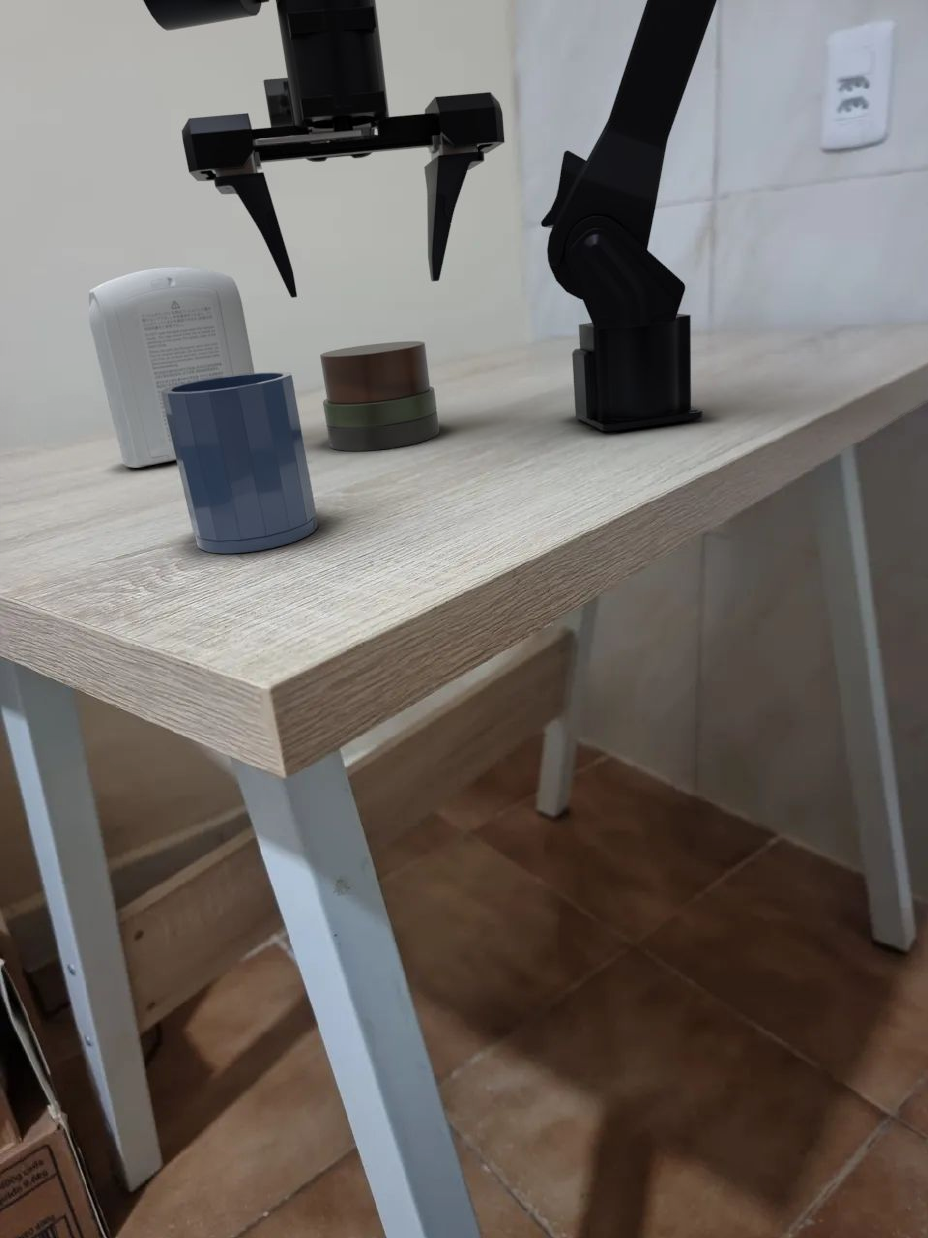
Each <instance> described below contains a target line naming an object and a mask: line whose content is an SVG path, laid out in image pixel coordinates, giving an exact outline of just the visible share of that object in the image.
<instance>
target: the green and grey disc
mask: <svg viewBox="0 0 928 1238" xmlns="http://www.w3.org/2000/svg"><path fill="white" fill-rule="evenodd" d="M436 400H437V399H436V392H435V388H434V386H431V385H430V389H429V390H428V391H426V392H424V393H421V394H418V395H414V396H410V397H405V398H400V399H394V400H387V401H380V402H371V403H359V404H335V403H330V402H328V401H327V398H325V399H324V400H323V401H322V406H323V414H324V419H325V424H326V431H327V437H328V444H329V447H330V448H331V449H334V450H338V451H346V452H365V451H368V452H369V451H378V450H379V451H381V450H388V449H395V448H400V447H406V446H412V445H414V444H419V443H422V442H425V441H428V440H430V439H433V438H435V437H437V436H439V433H440V427H439V425H440V424H439V419H438V418H439V417H438V411H437V410H438V409H437V401H436Z"/></svg>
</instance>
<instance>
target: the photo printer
mask: <svg viewBox="0 0 928 1238" xmlns="http://www.w3.org/2000/svg"><path fill="white" fill-rule="evenodd" d="M88 306H89V309H88V310H89V311H88V321H89V328H90V331H91V334H92V339H93V343H94V347H95V352H96V355H97V360H98V364H99V369H100V373H101V376H102V381H103V385H104V388H105V389H104V390H105V393H106V397H107V401H108V407H109V409H110V412H111V413H110V414H111V417H112V421H113V425H114V426H113V427H114V430H115V434H116V438H117V442H118V447H119V451H120V454H121V458H122V462H123V464H124V466H126V467H127V468H134V469H135V468H136V469H138V468H144V467H147V466H152V465H153V466H154V465H158V464H163V463H168V462H173V461H177V460H176V455H175V451H174V447H173V442H172V438H171V434H170V430H169V425H168V421H167V417H166V412H165V408H164V404H163V400H162V395H161V392H162V391H163V390H164V389H166V388H169V387H172V386H175V385H179V384H184V383H188V382H193V381H198V380H204V379H210V378H216V377H223V376H231V375H239V374H248V373H255V368H254V362H253V358H252V351H251V345H250V340H249V335H248V330H247V323H246V319H245V318H246V317H245V313H244V308H243V301H242V298H241V295H240V292H239V289H238V286H237V284H236V282H235V280H234V278H233V277H232V276H230V275H227V274H224V273H220V272H217V271H212V270H208V269H202V268H196V267H183V266H182V267H181V266H180V267H177V266H174V267H172V266H171V267H158V268H157V267H155V268H150V269H143V270H139V271H133V272H131V273H127V274H124V275H121V276H118V277H115V278H113V279H109V280H108V281H105V282H104V283H101V284H99V285H97V286H95V287H94V288H91V289H90V290H88Z"/></svg>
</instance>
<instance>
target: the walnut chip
mask: <svg viewBox="0 0 928 1238" xmlns="http://www.w3.org/2000/svg"><path fill="white" fill-rule="evenodd" d="M319 358H320V364H321V365H320V366H321V371H322V377H323V383H324V388H325V396H326V399H327V401H328V402H330V403H335V404H359V403H371V402H380V401H387V400H394V399H400V398H405V397H410V396H414V395H418V394H421V393H424V392H426V391H428V390H429V389H430V386H431V385H430V384H431V382H430V375H429V365H428V359H427V358H428V357H427V349H426V343H425V341H419V340H416V341H415V340H408V341H392V342H391V341H390V342H381V343H373V344H364V345H358V346H351V347H350V346H349V347H345V348H339V349H333V350H330V351H326V352H323V353H321V354H320V357H319Z"/></svg>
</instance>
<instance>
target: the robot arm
mask: <svg viewBox="0 0 928 1238" xmlns="http://www.w3.org/2000/svg"><path fill="white" fill-rule="evenodd" d="M142 1H143V3H144V5H145V8H147V10H148V12H149V14H150V16H151V17H152V18H153V19H154V21H155V22H156V23H157V25H158V26H160V27H161V28H162V29H163V30H165V31H176V30H180V29H186V28H192V27H197V26H204V25H209V24H215V23H220V22H227V21H233V20H237V19H243V18H244V19H245V18H250V17H256V16H257V15H259V13H260V11H261V8H262V4H265V3H269V2H270V0H142ZM717 1H718V0H646V3H645V6H644V9H643V12H642V15H641V17H640V21H639V24H638V27H637V30H636V34H635V36H634V39H633V43H632V44H631V45H632V46H631V49H630V51H629V55H628V58H627V61H626V64H625V67H624V70H623V74H622V77H621V80H620V83H619V86H618V89H617V92H616V95H615V98H614V101H613V104H612V106H611V111H610V114H609V117H608V119H607V121H606V123H605V126H604V127H603V128H602V130H601V133H600V135H599V136H598V139H597V140H596V141H595V144H594V146H593V148H592V150H591V151H590V153H589V155H588V156H587V158H586V159H584V158H582V157H581V156H579V155H578V154H576V153H574V152H573V151H570V150H565V151H564V152H563V156H562V162H561V168H560V174H559V181H558V187H557V191H556V196H555V198H554V201H553V203H552V205H551V207H550V209H549V211H548V212H547V213H546V215H545V216H544V218H543V219H542V220H541V222H540V226H541V227H543V228H547V229H551V230H550V232H549V236H548V242H547V249H546V253H547V262H548V265H549V268H550V270H551V273H552V275H553V277H554V279H555V281H556V282H557V284H558V285H560V286H561V288H562V289H563V290H564V291H565V292H566V293H568V294H570V295H571V296H573V297H575V298H577V299H579V300H582V302H583V304H584V307H585V309H586V311H587V313H588V317H589V318H590V321H591V322H589V323H588V322H587V323H580V324H578V337H579V348H575V349H574V350H573V351H572V352H571V356H572V374H573V392H574V409H575V410H574V414H575V418H576V419H578V420H580V421H581V422H584V423H586V424H588V425H590V426H592V427H594V428H596V429H598V430H600V431H602V432H616V431H621V430H629V429H636V428H643V427H648V426H657V425H663V424H670V423H678V422H684V421H691V420H698V419H699V420H700V419H702V418H703V409H699V408H697V407H693V406H692V338H691V337H692V334H691V333H692V331H691V329H692V328H691V326H692V323H691V321H692V318H691V314H687V313H686V314H685V313H679V310H680V307H681V303H682V302H683V298H684V295H685V292H686V285H685V283H684V282H683V280H681V279H680V278H679V277H678V275H676V274H675V273H674V272H672V270H670V269H669V268H668V267H667V266H666V265H665V264H664V263H663V262H661V261H660V260H659V259H658V258H657V257H656V256H655V255H654V254H653V253H652V252H650V251H649V249H648V248H649V244H650V238H651V232H652V229H653V228H652V227H653V222H654V217H655V212H656V206H657V202H658V196H659V190H660V184H661V178H662V173H663V167H664V162H665V155H666V150H667V145H668V139H669V137H670V134H671V131H672V128H673V126H674V123H675V120H676V117H677V114H678V111H679V109H680V105H681V103H682V100H683V97H684V94H685V91H686V88H687V86H688V82H689V81H690V77H691V74H692V72H693V69H694V66H695V64H696V61H697V57H698V55H699V52H700V49H701V46H702V44H703V40H704V37H705V35H706V32H707V29H708V26H709V23H710V21H711V18H712V15H713V12H714V10H715V7H716V5H717ZM275 4H276V12H277V18H278V22H279V23H278V25H279V31H280V37H281V43H282V50H283V51H282V52H283V55H284V56H283V57H284V62H285V68H286V69H285V71H286V76H287V77H281V78H280V77H279V78H267V79H263V81H262V82H263V87H264V94H265V99H266V107H267V112H268V117H269V125H270V127H261V128H252V123H251V122H252V121H251V119H250V115H249V113H248V112H247V113H235V114H234V113H233V114H225V115H224V114H223V115H212V116H211V115H210V116H200V117H189V118H188V119H187V121H186V123H185V125H184V126H183V128H182V130H181V138H182V144H183V149H184V155H185V158H186V159H185V160H186V164H187V169H188V173H189V174H190V175H191V176H192V177H193V178H194V179H195V180H196V181H197V182H213V183H214V187H215V188H216V190H217V191H218V192H219V193H220V195H237V196H238V198H239V199H240V201H241V203H242V204H243V206H244V208H245V210H246V211H247V212H248V214H249V215H250V217H251V219H252V220H253V223H254V224H255V225H256V227H257V229H258V231H259V232H260V235H261V237H262V239H263V241H264V243H265V245H266V247H267V249H268V251H269V253H270V255H271V258H272V260H273V261H274V264H275V266H276V268H277V270H278V273H279V274H280V277H281V279H282V282H283V283H284V285H285V288H286V290H287V292H288V294H289V296H290V298H292V299H294V298H297V297H298V293H297V286H296V280H295V275H294V271H293V270H294V269H293V266H292V264H291V261H290V257H289V254H288V253H289V252H288V251H287V247H286V243H285V241H284V237H283V233H282V230H281V225H280V224H279V223H280V222H279V219H278V216H277V213H276V210H275V206H274V203H273V200H272V196H271V193H270V189H269V186H268V182H267V180H266V176H265V173H264V171H260V172H259V170H262V169H263V168H262V164H264V163H275V162H284V161H285V162H286V161H294V160H295V161H296V160H306V161H308V162H312V163H322V162H326V161H327V159H333V158H342V157H351V158H353V159H362V158H366V157H368V156H370V155H372V154H373V153H380V152H390V151H391V152H393V151H401V150H412V149H421V148H422V149H423V148H427V149H428V152H429V154H430V158H431V161H430V162H428V163H427V164H426V165H425V166H424V167H423V169H424V176H425V183H426V185H425V186H426V195H427V198H426V200H427V201H426V202H427V204H426V207H427V208H426V209H427V210H426V211H427V259H428V268H429V276H430V280H431V282H438V281H440V278H441V274H442V269H443V264H444V259H445V256H446V255H445V254H446V250H447V246H448V241H449V236H450V231H451V227H452V222H453V218H454V214H455V210H456V206H457V203H458V200H459V197H460V195H461V191H462V188H463V185H464V183H465V180H466V176H467V173H468V171H469V170H472V169H473V168H475V167H477V166H479V165H480V164H482V163H484V162H485V154H489V153H490V152H491V151H493V150H495V149H497V148H498V147H499V146H501V145H503V144H505V143H506V141H505V131H504V130H505V128H504V117H503V109H502V107H501V106H502V105H501V103H500V102H499V100H497V97H495V96H494V94H492V92H491V91H487V92H486V91H485V92H476V93H466V94H464V93H463V94H454V95H441V96H435V97H434V98H433V99H432V100H431V101H430V103H429V104H428V105H427V106H426V107H425V109H424V113H418V114H405V115H396V116H390V111H389V103H388V102H389V101H388V96H387V94H388V93H387V87H386V78H385V71H384V62H383V54H382V53H383V51H382V45H381V44H382V43H381V36H380V27H379V19H378V11H377V10H378V9H377V3H376V0H275ZM376 132H377V134H376Z"/></svg>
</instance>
